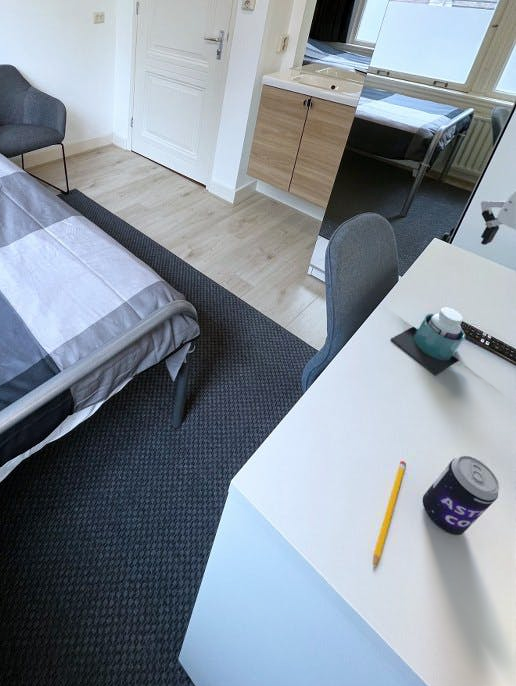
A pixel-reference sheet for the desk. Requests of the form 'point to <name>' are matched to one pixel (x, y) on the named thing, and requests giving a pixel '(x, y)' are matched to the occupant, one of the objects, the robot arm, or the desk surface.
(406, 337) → the dark grey rectangular plate
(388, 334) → the desk surface
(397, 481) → the pencil
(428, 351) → the cup
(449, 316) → the pill bottle
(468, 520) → the beverage can
